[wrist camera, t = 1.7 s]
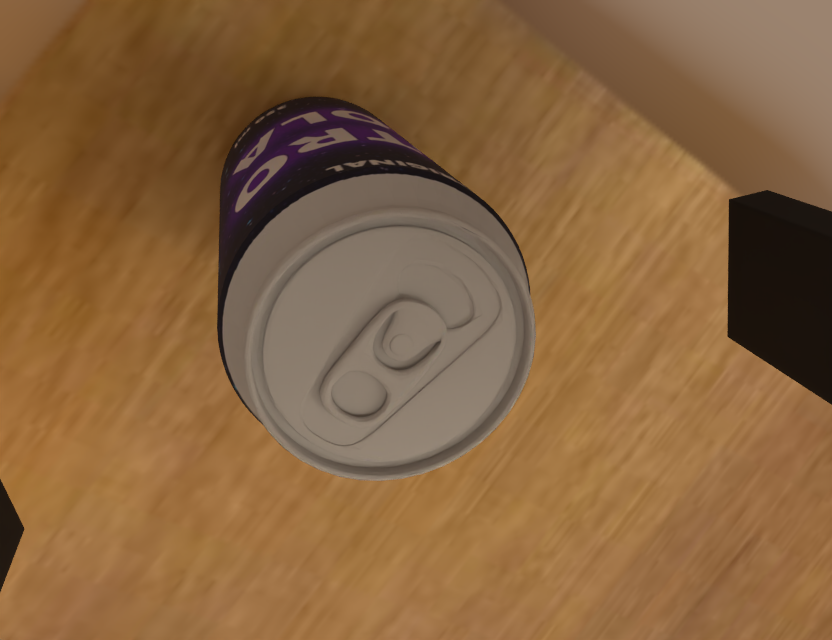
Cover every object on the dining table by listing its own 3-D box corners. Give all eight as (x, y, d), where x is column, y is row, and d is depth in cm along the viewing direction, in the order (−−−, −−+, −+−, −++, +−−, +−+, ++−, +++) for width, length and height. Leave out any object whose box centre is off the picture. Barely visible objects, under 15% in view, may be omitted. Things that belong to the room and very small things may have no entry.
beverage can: (441, 172, 24) (622, 317, 13) (331, 309, 25) (414, 548, 14) (297, 51, 21) (372, 103, 11) (181, 206, 22) (142, 399, 12)
